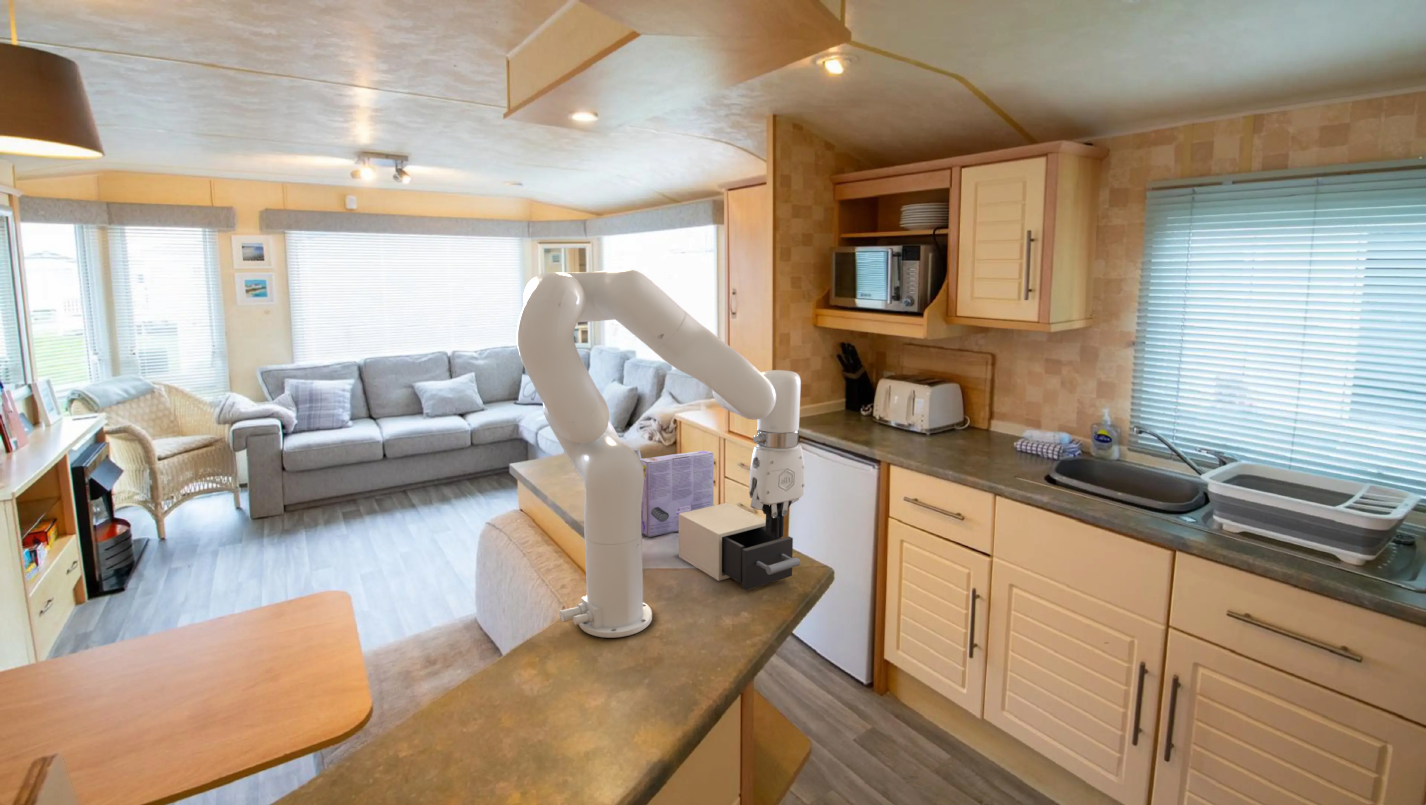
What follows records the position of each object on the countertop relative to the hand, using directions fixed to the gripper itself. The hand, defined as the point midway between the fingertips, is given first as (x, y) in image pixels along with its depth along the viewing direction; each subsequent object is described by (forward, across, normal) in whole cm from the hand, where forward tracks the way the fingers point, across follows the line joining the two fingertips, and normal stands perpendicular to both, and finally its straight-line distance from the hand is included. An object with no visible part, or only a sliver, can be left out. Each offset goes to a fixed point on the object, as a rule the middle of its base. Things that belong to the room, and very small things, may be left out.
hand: (774, 535), depth 129 cm
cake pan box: (+12, +4, +39) cm, 41 cm away
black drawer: (+10, +1, +6) cm, 12 cm away
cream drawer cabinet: (+11, +1, +17) cm, 20 cm away
